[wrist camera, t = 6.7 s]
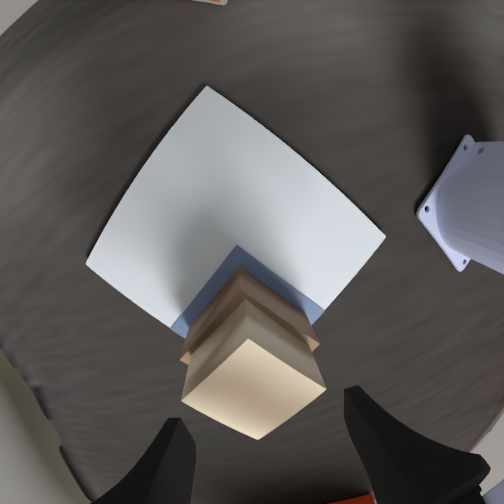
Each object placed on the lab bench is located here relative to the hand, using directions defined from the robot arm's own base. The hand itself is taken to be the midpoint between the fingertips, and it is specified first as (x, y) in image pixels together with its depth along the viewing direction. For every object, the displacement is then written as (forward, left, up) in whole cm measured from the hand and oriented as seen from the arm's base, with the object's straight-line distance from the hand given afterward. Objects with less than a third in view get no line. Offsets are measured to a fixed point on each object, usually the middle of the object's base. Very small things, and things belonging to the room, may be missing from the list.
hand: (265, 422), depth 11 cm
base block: (0, 0, -10) cm, 10 cm away
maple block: (0, 0, -6) cm, 6 cm away
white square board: (-3, -4, -10) cm, 12 cm away
